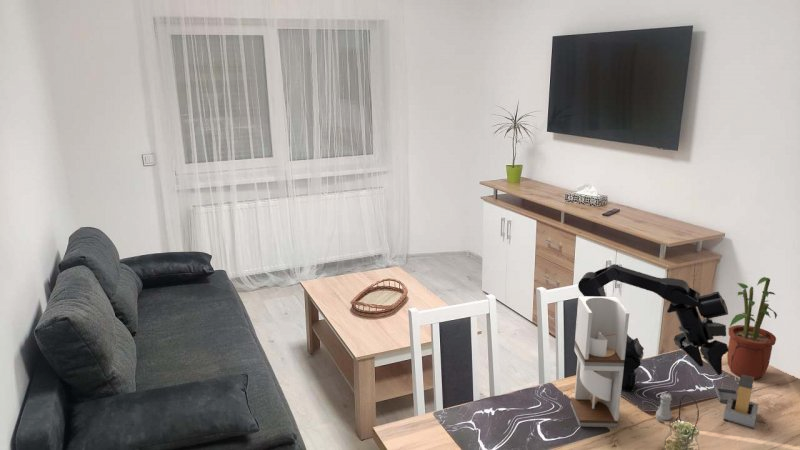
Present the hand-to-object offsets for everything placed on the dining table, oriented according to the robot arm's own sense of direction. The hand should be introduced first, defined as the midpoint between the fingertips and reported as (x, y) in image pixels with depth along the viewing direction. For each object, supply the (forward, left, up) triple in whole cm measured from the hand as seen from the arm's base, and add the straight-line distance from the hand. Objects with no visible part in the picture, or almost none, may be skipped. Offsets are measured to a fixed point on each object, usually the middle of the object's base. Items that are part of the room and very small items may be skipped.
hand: (710, 370), depth 168 cm
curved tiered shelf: (-29, -21, -12) cm, 37 cm away
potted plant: (+8, +26, -12) cm, 30 cm away
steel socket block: (+9, -4, -12) cm, 15 cm away
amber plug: (+9, -4, -10) cm, 14 cm away
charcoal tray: (+6, +6, -12) cm, 15 cm away
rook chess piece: (-10, -13, -12) cm, 21 cm away
